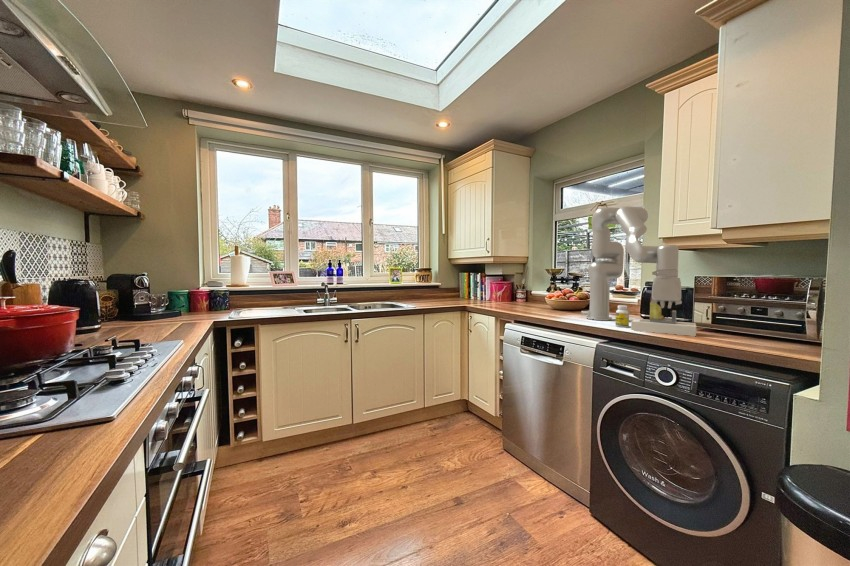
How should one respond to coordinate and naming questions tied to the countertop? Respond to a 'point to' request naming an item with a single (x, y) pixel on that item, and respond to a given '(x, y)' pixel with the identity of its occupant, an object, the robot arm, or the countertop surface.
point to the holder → (664, 327)
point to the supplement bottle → (622, 316)
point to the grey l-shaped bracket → (666, 319)
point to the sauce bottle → (655, 310)
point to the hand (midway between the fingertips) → (665, 317)
